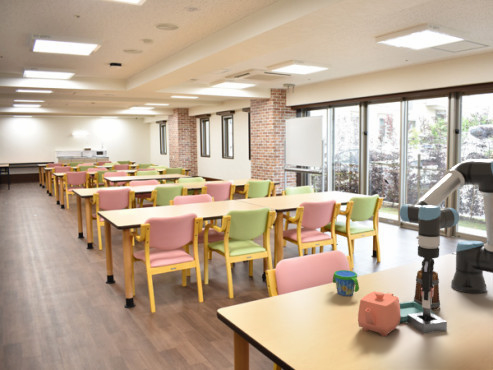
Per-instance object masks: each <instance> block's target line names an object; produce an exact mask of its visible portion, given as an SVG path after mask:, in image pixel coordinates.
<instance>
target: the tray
mask: <svg viewBox="0 0 493 370" xmlns="http://www.w3.org/2000/svg"><path fill="white" fill-rule="evenodd" d="M399 304H400V323H399V324H403V323H407V314H413V313H421V312H423V307H422V305H420V304H418V303H417V302H415V301H414V300H413V301H412V300H411V301H405V302H399ZM431 313H433V314H434V315H436V314H435V312H434V310H431Z"/></svg>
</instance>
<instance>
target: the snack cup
mask: <svg viewBox="0 0 493 370" xmlns="http://www.w3.org/2000/svg"><path fill="white" fill-rule="evenodd" d="M332 283H334V284H335V286H336V292H337V294H338V295H340V296H343V297H351V296H353V295H354V293H357V292H359V290H360V286H359V281H358V273H356V272H355V271H352V270H348V269H342V270H337V271H334V273H333V277H332Z"/></svg>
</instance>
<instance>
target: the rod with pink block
mask: <svg viewBox="0 0 493 370" xmlns="http://www.w3.org/2000/svg"><path fill="white" fill-rule="evenodd" d="M422 292H423V291H421V296H422ZM433 295H434V288H430V309H429V308H423V320H424V321H431V311H432V310H431V298H432V297H433Z"/></svg>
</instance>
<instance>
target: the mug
mask: <svg viewBox="0 0 493 370" xmlns="http://www.w3.org/2000/svg"><path fill="white" fill-rule="evenodd" d="M415 277H416V278H415V281H416V282H415V290H414V291H415V292H414V297H413V301H415V302H417V303H418V304H420V305H422V296H421V291H420V289H422V267H421V268H420V270H418V271H417V272H416V276H415ZM439 284H440V279H439V274H438V272H437V271H434V270H433V284H432V285H434V287H431V288H434V295H433V297H432V304H431V311H436V310H438V309H439V308H441V307H440V306H441V302H440V301H441V299H440V287H439Z"/></svg>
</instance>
